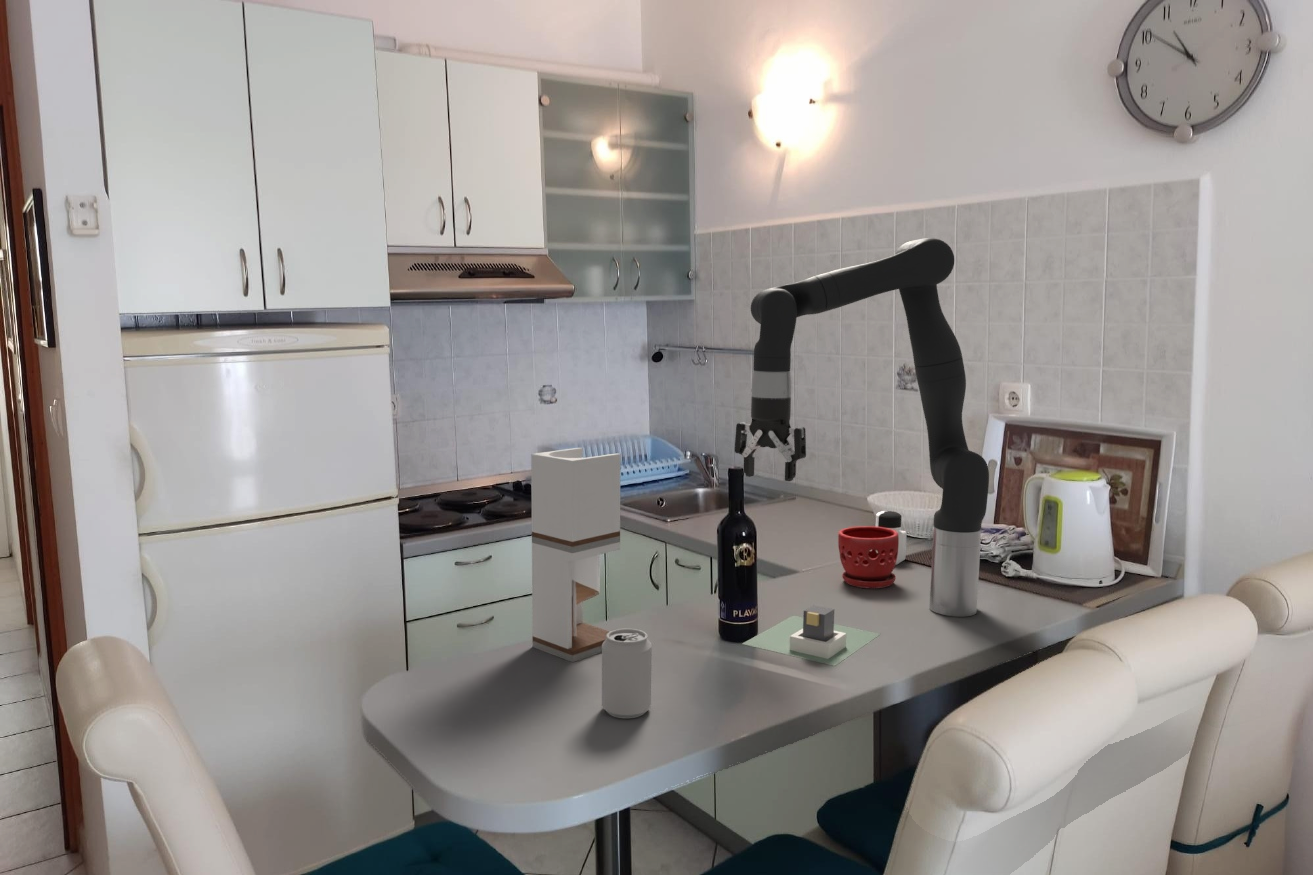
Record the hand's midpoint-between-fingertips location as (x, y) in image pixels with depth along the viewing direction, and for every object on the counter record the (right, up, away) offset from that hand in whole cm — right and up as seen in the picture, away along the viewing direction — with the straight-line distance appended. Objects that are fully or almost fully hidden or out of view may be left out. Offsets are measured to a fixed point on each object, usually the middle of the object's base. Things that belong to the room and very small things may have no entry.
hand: (769, 478), depth 186 cm
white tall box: (-36, -30, -13) cm, 49 cm away
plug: (+7, -29, -16) cm, 34 cm away
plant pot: (+25, -25, +30) cm, 46 cm away
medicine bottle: (+35, -22, +50) cm, 65 cm away
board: (+7, -30, -11) cm, 32 cm away
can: (-26, -34, -40) cm, 58 cm away
